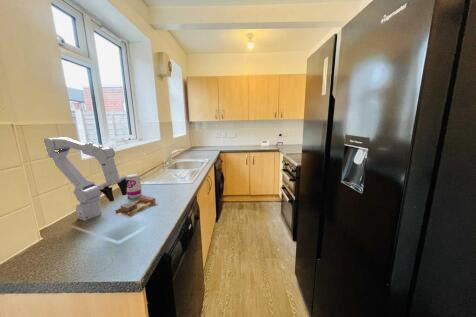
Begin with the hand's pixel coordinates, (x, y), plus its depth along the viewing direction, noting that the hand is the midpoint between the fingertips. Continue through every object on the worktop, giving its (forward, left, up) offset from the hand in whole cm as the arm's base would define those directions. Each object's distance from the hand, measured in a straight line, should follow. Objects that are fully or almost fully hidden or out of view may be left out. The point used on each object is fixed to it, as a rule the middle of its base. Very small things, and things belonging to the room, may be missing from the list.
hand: (118, 197), depth 96 cm
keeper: (+5, +1, -10) cm, 11 cm away
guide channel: (+9, +1, -11) cm, 14 cm away
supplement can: (+21, +17, -11) cm, 29 cm away
